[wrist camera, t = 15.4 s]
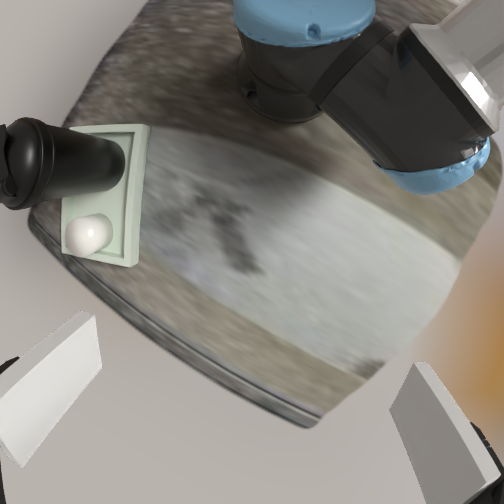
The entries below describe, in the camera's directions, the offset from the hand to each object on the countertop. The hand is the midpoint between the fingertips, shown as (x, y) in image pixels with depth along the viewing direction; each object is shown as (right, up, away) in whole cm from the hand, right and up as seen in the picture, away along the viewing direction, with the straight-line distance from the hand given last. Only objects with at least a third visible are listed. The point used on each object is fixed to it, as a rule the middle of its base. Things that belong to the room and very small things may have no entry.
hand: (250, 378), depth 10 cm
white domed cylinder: (-26, +8, +32) cm, 42 cm away
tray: (-25, +15, +32) cm, 43 cm away
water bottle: (-24, +19, +30) cm, 43 cm away
